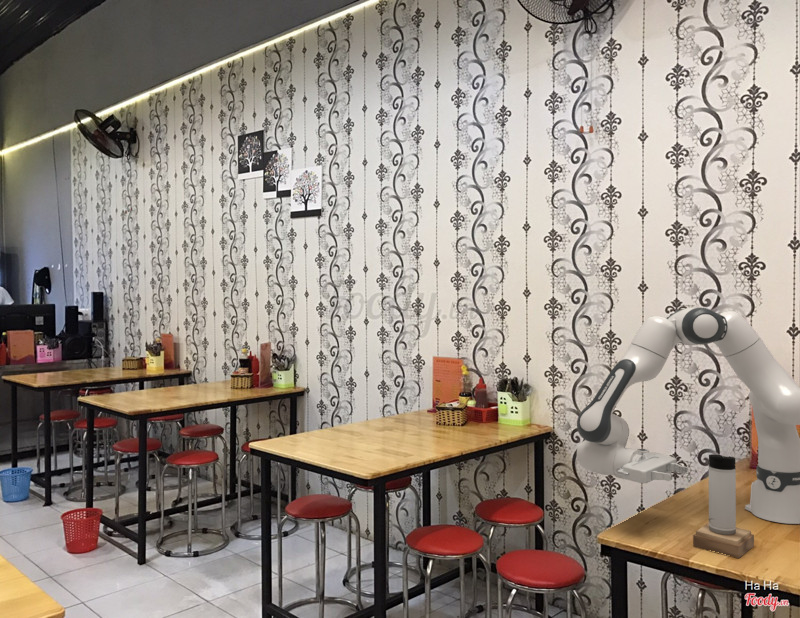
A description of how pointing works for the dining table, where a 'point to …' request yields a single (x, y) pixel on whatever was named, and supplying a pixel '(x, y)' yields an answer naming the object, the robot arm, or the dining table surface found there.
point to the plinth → (724, 541)
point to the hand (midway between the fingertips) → (679, 473)
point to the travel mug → (722, 494)
